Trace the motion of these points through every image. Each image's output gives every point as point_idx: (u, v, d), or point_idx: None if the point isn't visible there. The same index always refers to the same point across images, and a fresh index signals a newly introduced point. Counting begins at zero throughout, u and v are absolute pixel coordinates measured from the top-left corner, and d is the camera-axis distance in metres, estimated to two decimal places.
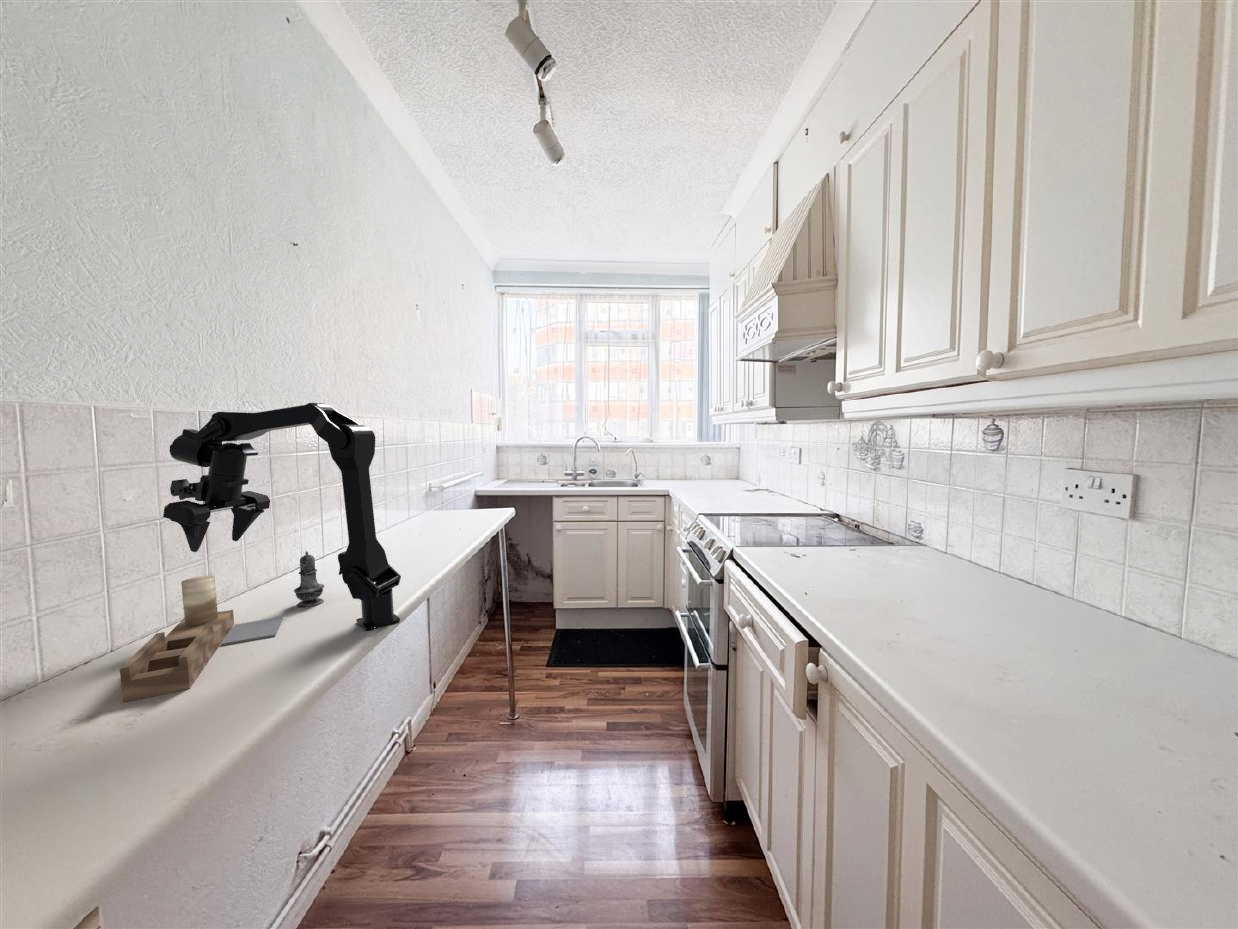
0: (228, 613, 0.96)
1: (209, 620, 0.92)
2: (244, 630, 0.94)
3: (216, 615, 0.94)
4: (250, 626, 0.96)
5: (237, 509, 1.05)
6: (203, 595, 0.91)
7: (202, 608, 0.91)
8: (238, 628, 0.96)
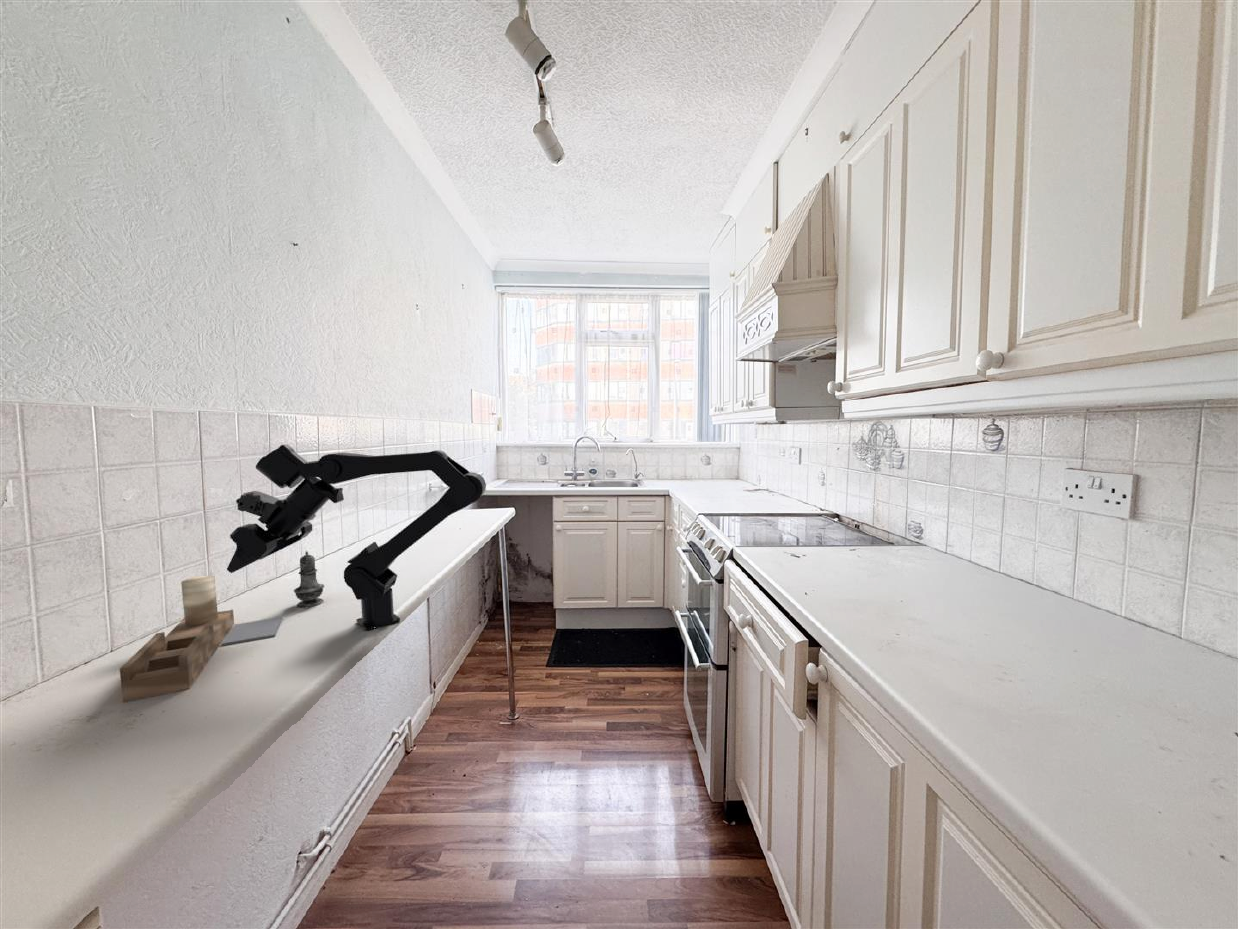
0: (228, 613, 0.96)
1: (209, 620, 0.92)
2: (244, 630, 0.94)
3: (216, 615, 0.94)
4: (250, 626, 0.96)
5: None
6: (203, 595, 0.91)
7: (202, 608, 0.91)
8: (238, 628, 0.96)
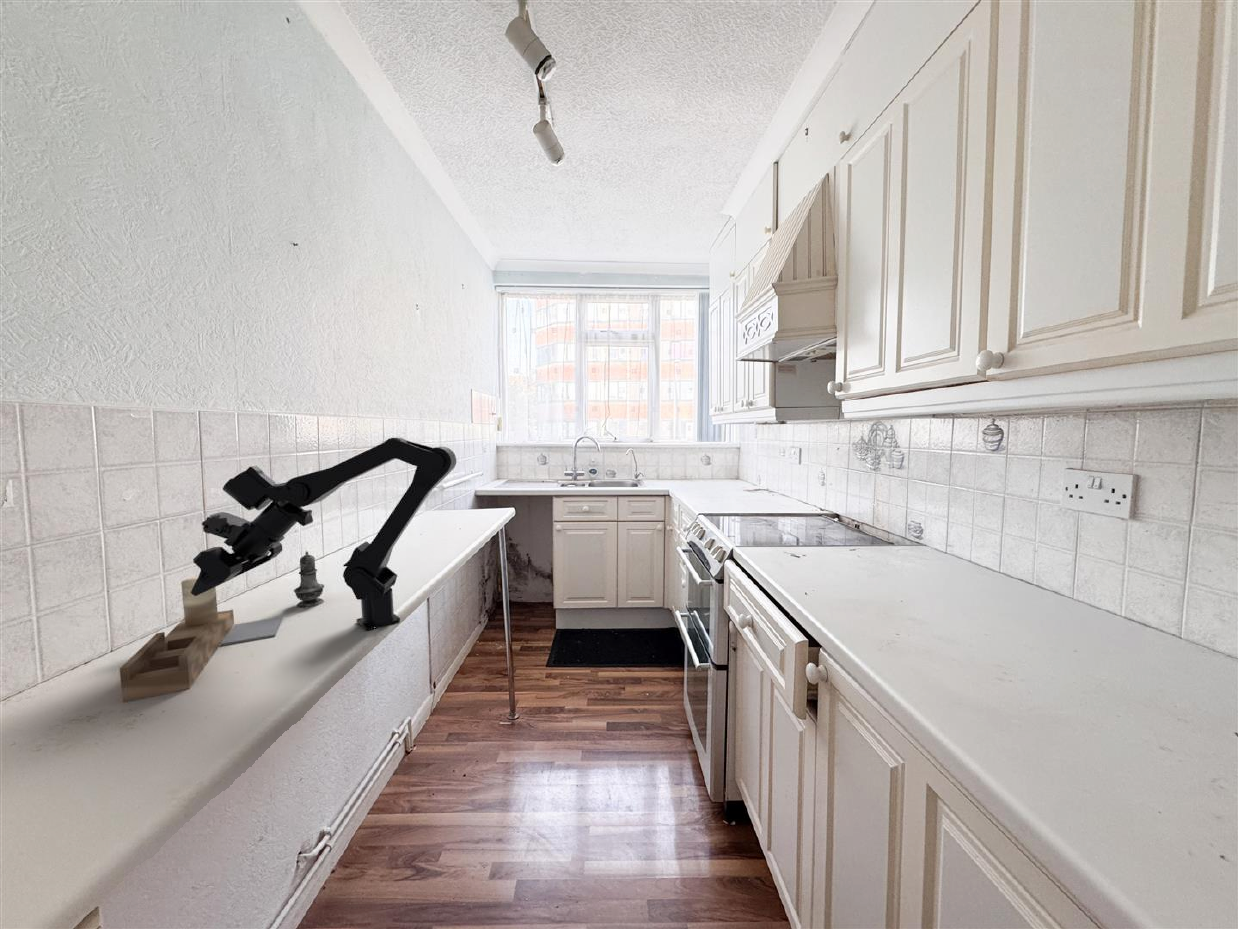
0: (228, 613, 0.96)
1: (209, 620, 0.92)
2: (244, 630, 0.94)
3: (216, 615, 0.94)
4: (250, 626, 0.96)
5: None
6: (203, 595, 0.91)
7: (202, 608, 0.91)
8: (238, 628, 0.96)
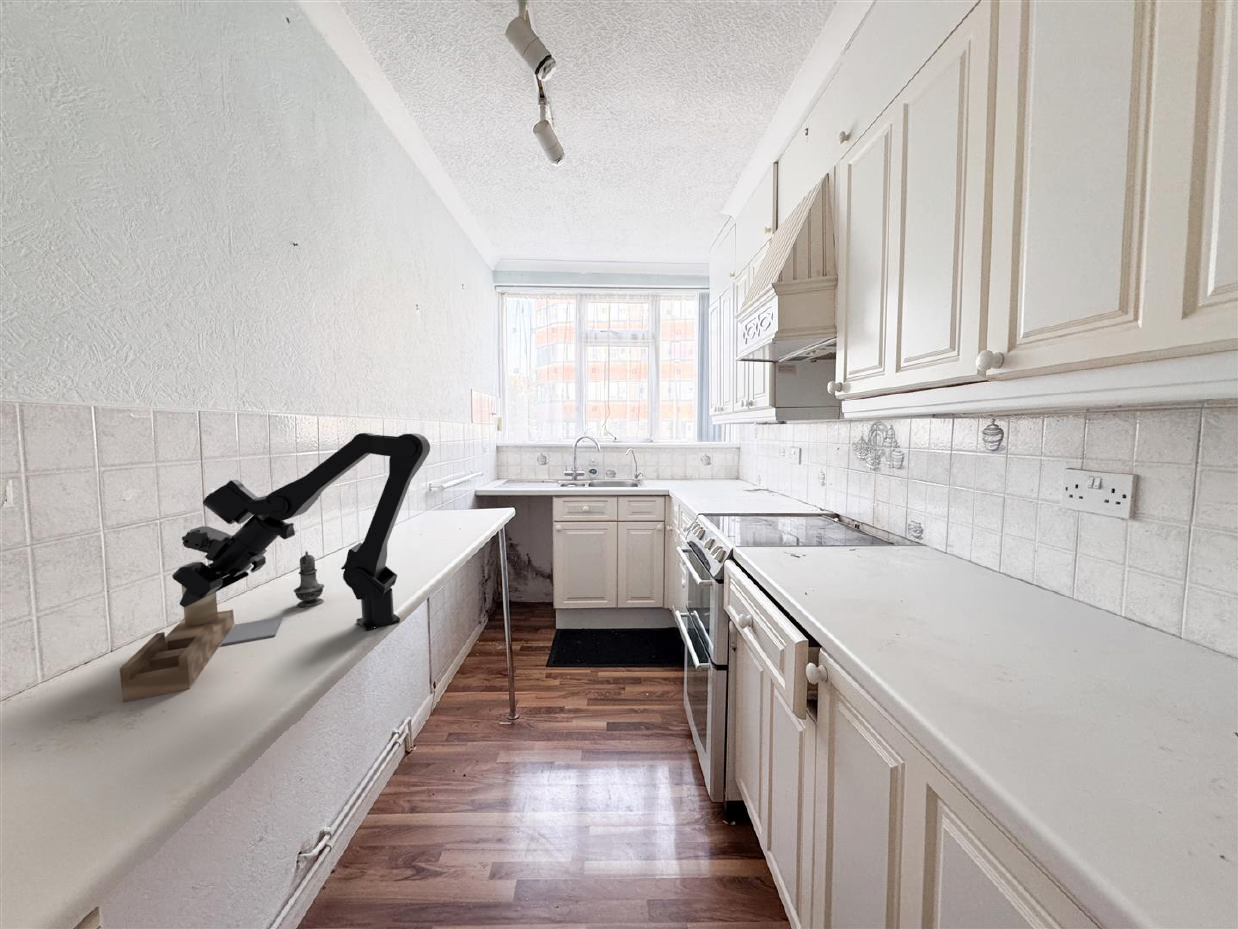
0: (228, 613, 0.96)
1: (209, 620, 0.92)
2: (244, 630, 0.94)
3: (216, 615, 0.94)
4: (250, 626, 0.96)
5: None
6: None
7: (202, 608, 0.91)
8: (238, 628, 0.96)
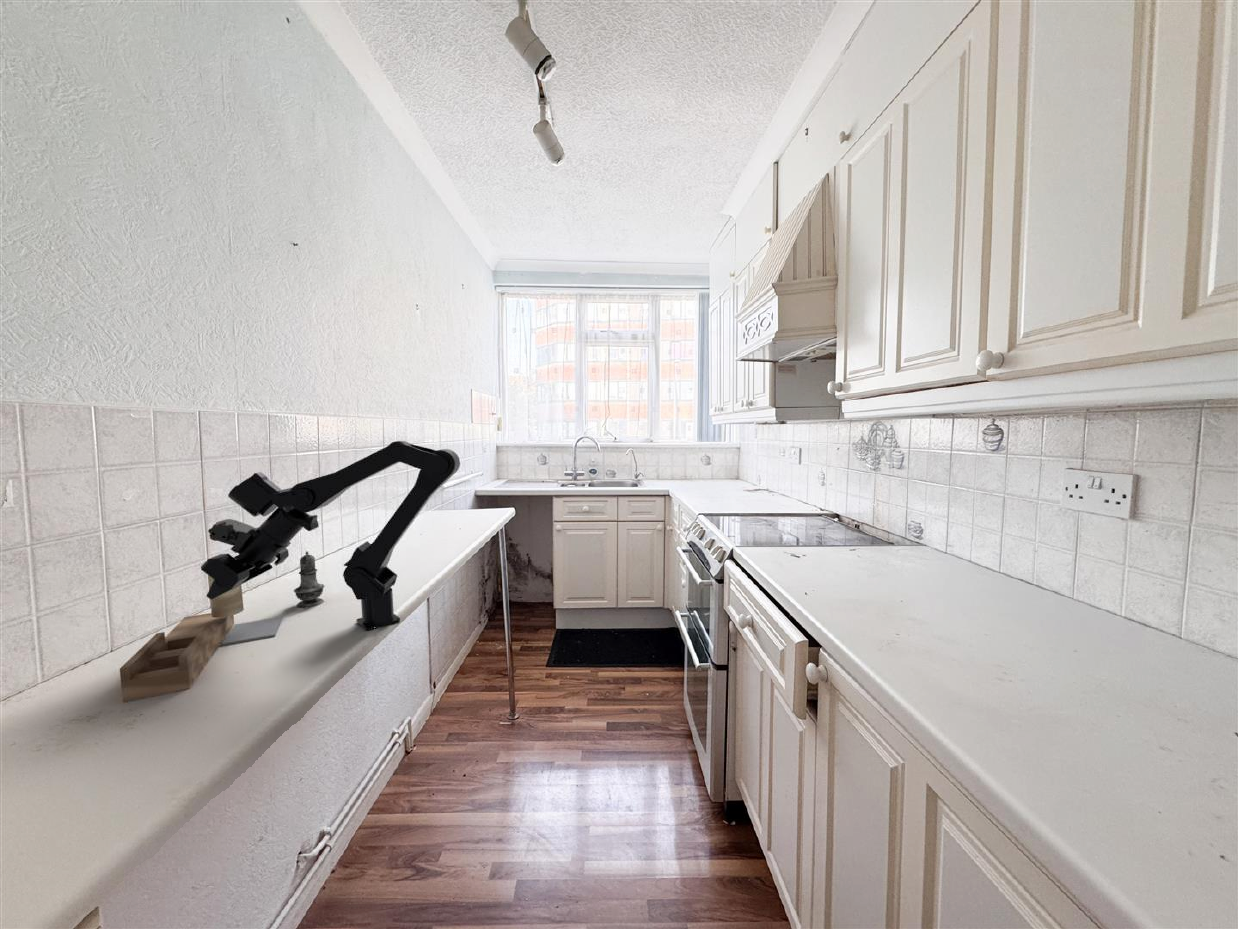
0: None
1: (235, 612, 0.93)
2: (244, 630, 0.94)
3: (242, 607, 0.94)
4: (250, 626, 0.96)
5: None
6: None
7: (228, 600, 0.92)
8: (238, 628, 0.96)
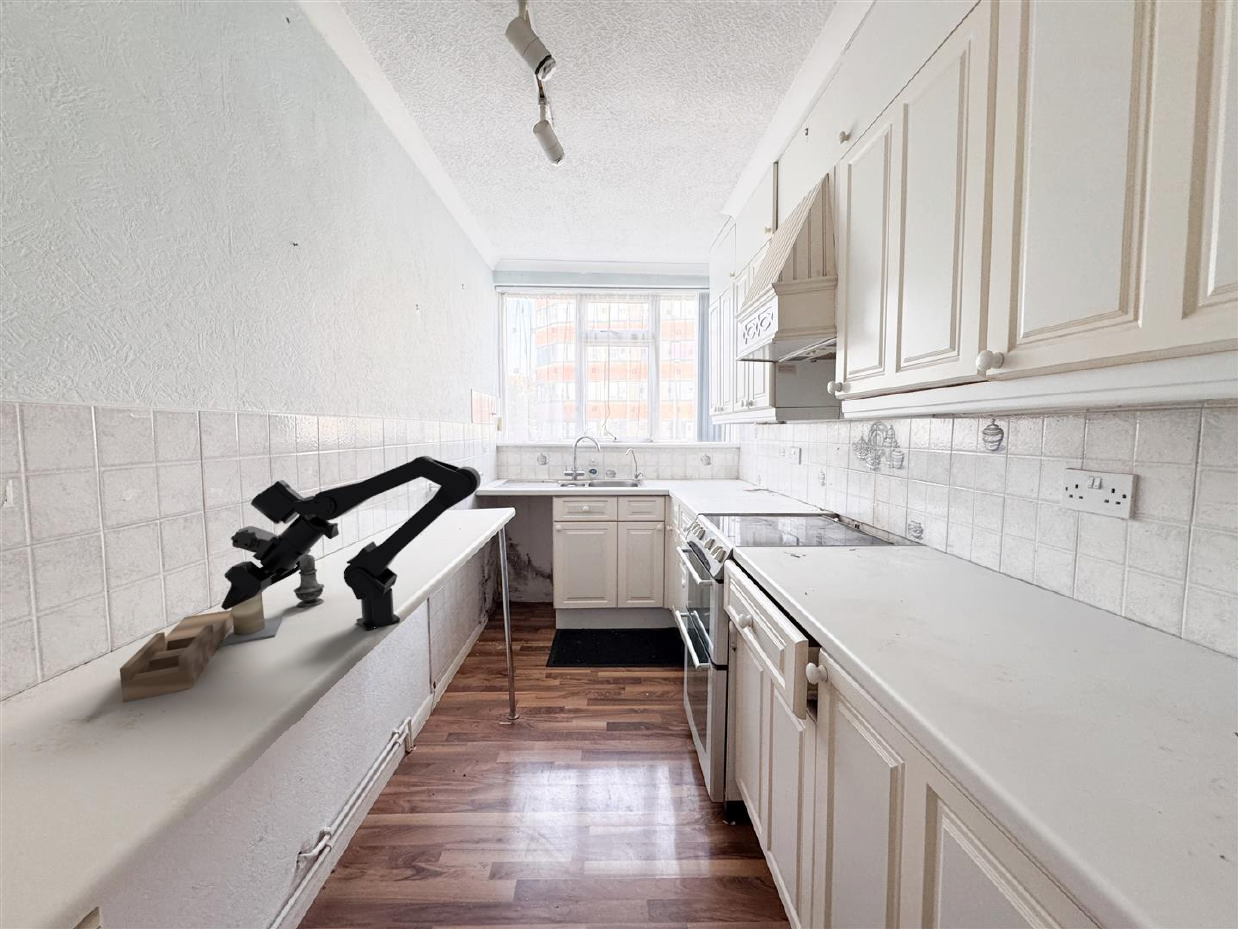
0: (228, 613, 0.96)
1: (257, 629, 0.94)
2: None
3: (263, 624, 0.95)
4: None
5: None
6: (251, 605, 0.93)
7: (250, 618, 0.93)
8: None
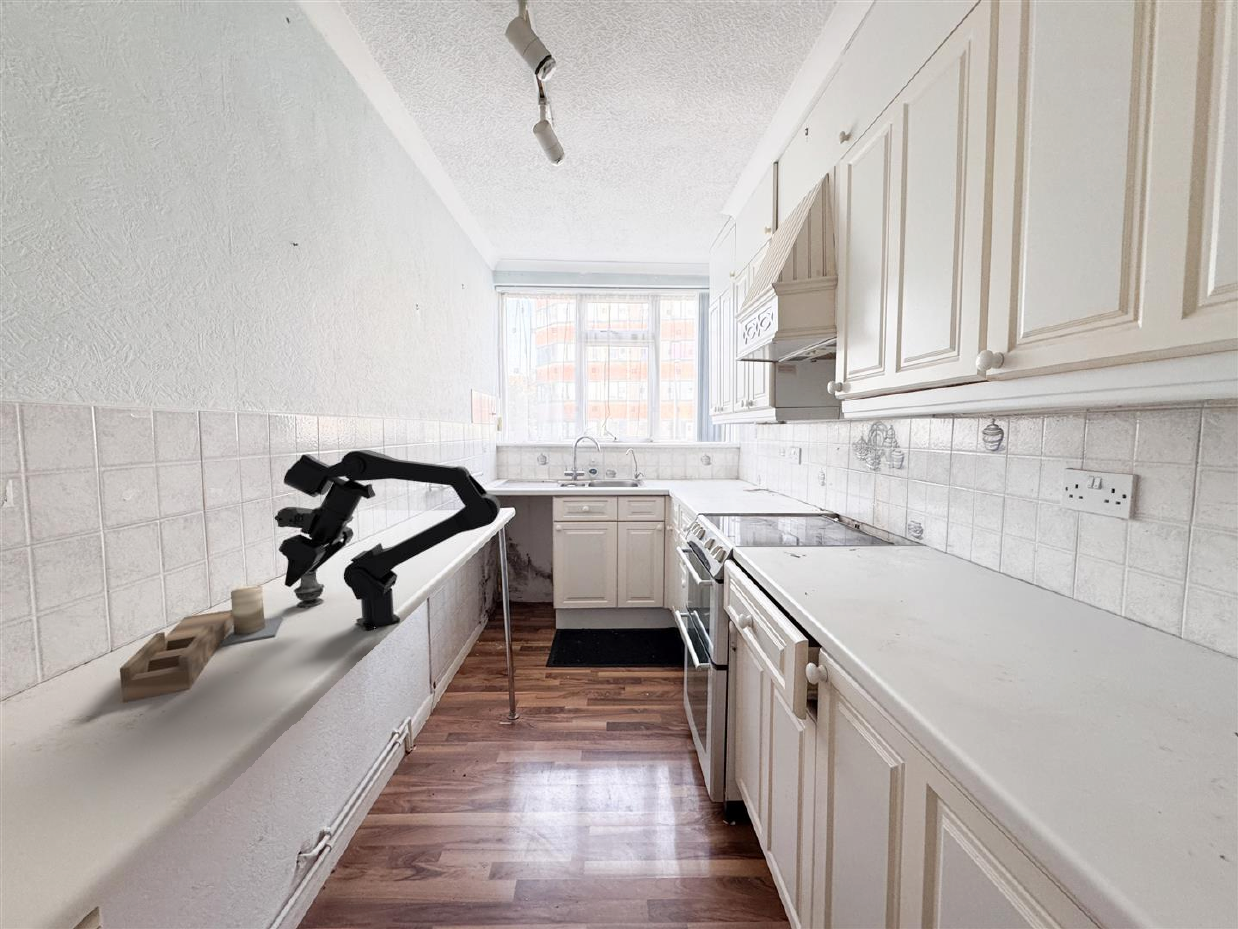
0: (228, 613, 0.96)
1: (257, 629, 0.94)
2: None
3: (263, 624, 0.95)
4: None
5: None
6: (252, 605, 0.93)
7: (251, 618, 0.93)
8: None
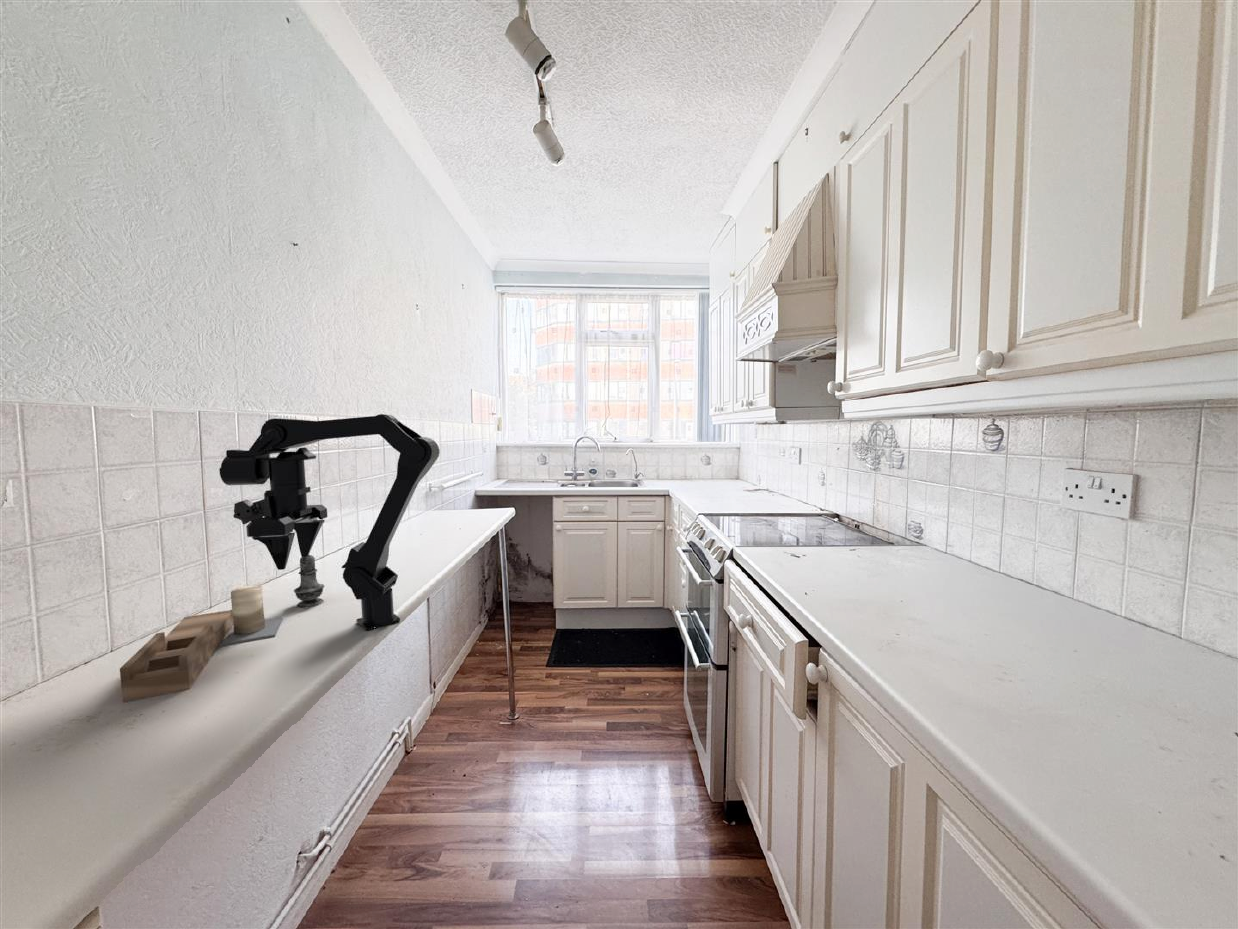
0: (228, 613, 0.96)
1: (257, 629, 0.94)
2: None
3: (263, 624, 0.95)
4: None
5: (298, 524, 1.00)
6: (252, 605, 0.93)
7: (250, 618, 0.93)
8: None
